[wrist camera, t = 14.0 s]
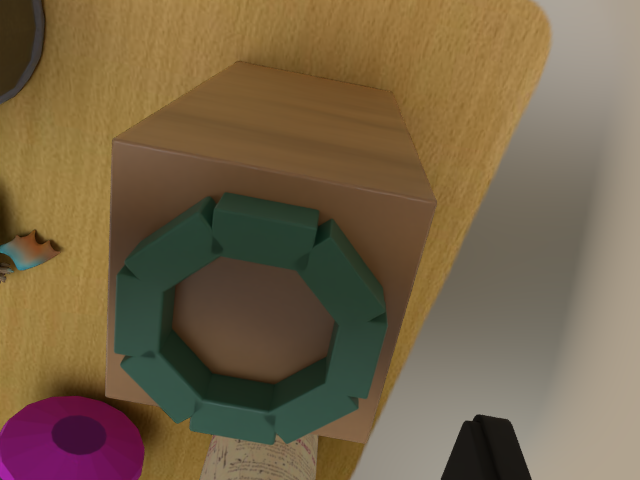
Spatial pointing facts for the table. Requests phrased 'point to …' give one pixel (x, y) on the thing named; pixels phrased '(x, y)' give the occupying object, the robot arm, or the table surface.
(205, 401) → the hoop
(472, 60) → the table surface
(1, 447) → the headphones
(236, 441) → the aerosol can
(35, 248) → the dragon figurine
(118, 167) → the plinth
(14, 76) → the canister
